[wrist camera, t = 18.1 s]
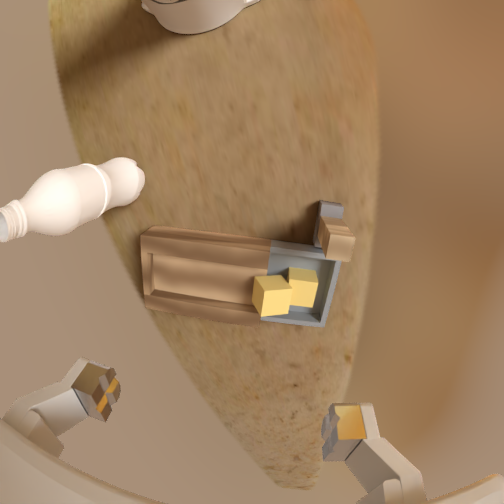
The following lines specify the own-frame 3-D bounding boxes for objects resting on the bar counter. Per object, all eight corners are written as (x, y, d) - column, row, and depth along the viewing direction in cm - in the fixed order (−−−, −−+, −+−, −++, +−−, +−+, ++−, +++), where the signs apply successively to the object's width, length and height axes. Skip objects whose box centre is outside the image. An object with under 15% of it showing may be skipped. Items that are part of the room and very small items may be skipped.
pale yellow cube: (289, 279, 38) (318, 282, 37) (289, 266, 41) (315, 270, 41) (284, 304, 39) (312, 307, 39) (284, 290, 43) (310, 293, 43)
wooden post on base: (319, 200, 38) (332, 219, 28) (340, 203, 38) (359, 223, 28) (312, 240, 40) (321, 271, 30) (332, 243, 40) (347, 275, 30)
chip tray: (271, 239, 41) (270, 246, 38) (338, 248, 40) (342, 256, 37) (261, 309, 45) (260, 320, 42) (321, 316, 44) (324, 327, 42)
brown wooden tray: (154, 225, 42) (140, 235, 37) (271, 239, 41) (269, 252, 36) (157, 292, 46) (145, 307, 41) (261, 309, 45) (259, 327, 40)
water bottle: (137, 210, 41) (18, 280, 18) (105, 186, 40) (-19, 236, 17) (157, 170, 38) (28, 212, 15) (123, 148, 38) (-12, 170, 14)
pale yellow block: (254, 276, 39) (264, 290, 35) (281, 275, 40) (293, 288, 37) (251, 300, 40) (260, 316, 37) (276, 298, 42) (287, 313, 38)
